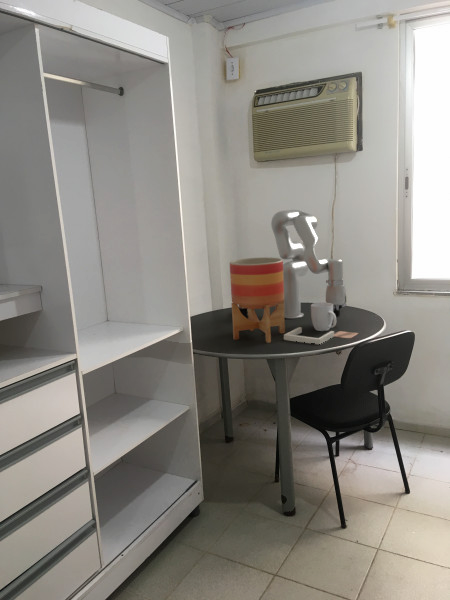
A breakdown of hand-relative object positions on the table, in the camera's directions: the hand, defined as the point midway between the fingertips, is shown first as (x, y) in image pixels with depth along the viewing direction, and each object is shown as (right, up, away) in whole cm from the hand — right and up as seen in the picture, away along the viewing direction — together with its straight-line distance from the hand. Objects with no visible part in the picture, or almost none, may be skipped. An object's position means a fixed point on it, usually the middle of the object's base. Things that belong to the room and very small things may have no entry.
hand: (336, 316), depth 261 cm
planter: (-42, -9, -15) cm, 45 cm away
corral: (-19, -9, -23) cm, 31 cm away
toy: (-48, 0, +33) cm, 58 cm away
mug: (-9, -6, -11) cm, 15 cm away
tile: (-1, -8, -22) cm, 23 cm away
